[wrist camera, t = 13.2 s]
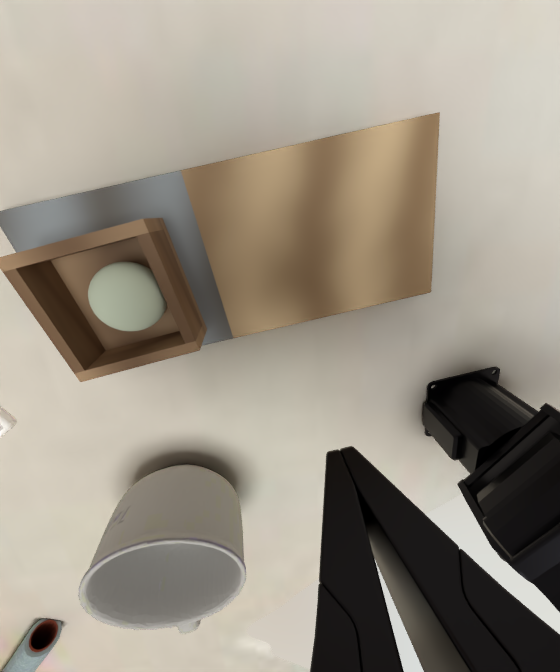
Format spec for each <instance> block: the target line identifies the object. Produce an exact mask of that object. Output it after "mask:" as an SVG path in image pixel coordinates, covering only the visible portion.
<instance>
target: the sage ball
mask: <svg viewBox="0 0 560 672" xmlns="http://www.w3.org/2000/svg"><path fill="white" fill-rule="evenodd" d="M88 299H89V303H90V306H91V308H92V310H93V312H94V313H95V315H96V316H97V317H98V318H99V319H100V320H101V321H102V322H104V323H105V324H107V325H108V326H110V327H112V328H115V329H118V330H122V331H139V330H143V329H146V328H148V327H150V326H152V325H154V324H155V323H156V322H157V321H158V320H159V319H160V318H161V317H162V315H163V314H164V312H165V310H166V307H167V302H166V300H165V298H164V296H163V294H162V291H161V289H160V287H159V285H158V283H157V280H156V278H155V276H154V274H153V271H152V270H151V269H149V268H147V267H146V266H143V265H141V264H138V263H133V262H116V263H112V264H109V265H107V266H105V267H103V268H102V269H100V270H99V271H98V272H97V273H96V274H95V275H94V277H93V278H92V280H91V282H90V285H89V289H88Z"/></svg>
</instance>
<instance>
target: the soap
mask: <svg viewBox="0 0 560 672" xmlns="http://www.w3.org/2000/svg"><path fill="white" fill-rule="evenodd" d="M15 424H16V419H15V418H14V417H13V416H12V415H10V414H9V413H8V412H7V411H6V410H4V409H3V408H2V407H0V438H1V437H2V436H3V435H4V434H6V433H7V432H8V431H9V430H10V429H11V428H12V427H13V426H14V425H15Z"/></svg>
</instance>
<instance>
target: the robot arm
mask: <svg viewBox="0 0 560 672" xmlns="http://www.w3.org/2000/svg"><path fill="white" fill-rule="evenodd" d="M494 370H496V371H495V373H493V374H492V372H493V371H494ZM499 374H500V369H499V368H498V367H491V368H487V369H483V370H478V371H474V372H470V373H466V374H461V375H457V376H453V377H449V378H445V379H440V380H436V381H432V382H430V383H429V384H428V385H427V396H426V402H425V403H424V409H423V425H424V427H425V434H426V435H427V436H433V437H434V439H435V440H436V441H437V442H438V444H439V445H440V446H441V447H442V448H443V450H444V451H445V452H446V453H447V454H448V456H449V457H450V458H451V459H453V460H459V461H460V462H461V463H462V465H463V466H464V467H465V468H466V469H467V470H468V472H469V473H470V475H469V476H468V477H467V478H465V479H464V480H463V479H462V480H461V481H460V482H459V483H458V486H459V488H460V490H461V492H462V494H463V496H464V498H465V500H466V502H467V504H468V505H469V507H470V509H471V511H472V512H473V514H474V516H475V518H476V520H477V521H478V523H479V525H480V527H481V529H482V530H483V532H484V534H485V536H486V538H487V539H488V541H489V543H490V545H491V546H492V548H493V549H494V550H495V551H496V552H497V554H498V555H499V556H500V558H501V559H503V560H504V561H506V562H507V563H508V564H509V565H510V566H511V567H512V568H513V569H514V570H515V571H517V572H518V573H519V574H520V575H521V576H523V577H524V578H525V579H526V580H528V581H529V582H531V583H533V584H534V585H535V586H536V587H537V588H538V589H539V590H540V591H541V592H542V593H543V594H544V595H545V596H546V597H547V598H548V599H549V600H550V602H551V603H552V604H553V605H554V606H555V607H556V609H557V610H558V611H559V612H560V411H559V410H558V409H556V408H554V407H552V406H551V405H549V404H547V403H545V404H544V405H543V406H542V407H541V408H540V409H541V410H540V411H539V412H538V411H537V410H535V409H534V408H532V407H531V406H529V405H528V404H526V403H525V402H523V401H522V400H521V399H519V398H518V397H516V396H515V395H513V394H512V393H510V392H509V391H507V390H506V389H504V388H503V387H502V386H500V385H499V384H498V379H499ZM432 385H435V387H434V388H431V386H432ZM428 432H429V433H428ZM374 558H375V559H374ZM375 560H376V562H377V565H378V567H379V569H380V572H381V574H382V576H383V579H384V580H385V583H386V585H387V587H388V590H389V592H390V594H391V597H392V599H393V601H394V604H395V606H396V608H397V611H398V613H399V615H400V617H401V620H402V622H403V624H404V627H405V629H406V631H407V634H408V636H409V638H410V640H411V643H412V645H413V647H414V649H415V652H416V654H417V657H418V658H419V661H420V663H421V666H422V668H423V670H424V672H560V634H558V633H557V632H556V631H555V630H554V629H552V628H551V627H550V626H549V625H547V624H546V623H545V622H544V621H542V620H541V619H540V618H539V617H538V616H536V615H535V614H534V613H533V612H532V611H530V610H529V609H528V608H527V607H526V606H525V605H523V604H522V603H521V602H520V601H519V600H517V599H516V598H515V597H514V596H513V595H512V594H510V593H509V592H508V591H507V590H506V589H504V588H503V587H502V586H501V585H500V584H499V583H498V582H497V581H496V580H495V579H493V578H492V577H491V576H490V575H489V574H488V573H487V572H486V571H485V570H484V569H482V568H481V567H480V566H479V565H478V564H477V563H476V562H475V561H474V560H473V559H472V558H470V556H469V555H467V554H466V553H465V552H464V551H463V550H462V549H459V547H458V545H457V544H456V543H455V542H454V541H452V540H451V539H450V538H449V537H448V536H447V535H446V534H445V533H444V532H443V531H442V530H441V529H440V528H439V527H438V526H437V525H435V523H433V522H432V521H431V520H430V519H429V518H428V517H427V516H426V515H425V514H424V513H423V512H422V511H421V510H420V509H419V508H418V507H417V506H415V505H414V504H413V503H412V502H411V501H410V500H409V499H408V498H407V497H406V496H405V495H404V494H403V493H402V492H401V491H400V490H399V489H398V488H396V487H395V486H394V485H393V484H392V483H391V482H390V481H389V480H388V479H387V478H386V477H385V476H384V475H383V474H382V473H381V472H380V471H379V470H377V469H376V468H375V467H374V466H373V465H372V464H371V463H370V462H369V461H368V460H367V459H366V458H365V457H364V456H363V455H362V454H361V453H359V452H358V451H357V450H356V449H355V448H354V447H352V446H349V447H345V448H341V449H340V450H333V451H329V452H327V454H326V470H325V487H324V505H323V522H322V539H321V556H320V573H319V582H320V584H319V587H318V605H317V617H316V628H315V639H314V646H313V654H312V661H311V669H310V672H404V671H403V668H402V664H401V660H400V656H399V652H398V648H397V645H396V640H395V637H394V633H393V629H392V625H391V621H390V617H389V613H388V610H387V606H386V602H385V598H384V594H383V590H382V587H381V583H380V579H379V575H378V571H377V567H376V563H375Z"/></svg>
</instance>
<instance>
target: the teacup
mask: <svg viewBox="0 0 560 672" xmlns="http://www.w3.org/2000/svg"><path fill="white" fill-rule="evenodd" d="M245 581H246V567H245V563H244V551H243V530H242V518H241V509H240V503H239V500H238V497H237V494H236V492H235V490H234V488H233V487H232V485H231V484H230V483H229V482H228V481H227V480H226V479H225V478H224V477H222V476H221V475H219V474H218V473H216V472H214V471H211V470H209V469H207V468H204V467H201V466H197V465H176V466H172V467H168V468H165V469H161V470H158V471H155V472H153V473H151V474H149V475H147V476H145V477H143V478H142V479H141V480H139V481H138V482H136V483H135V484H134V485H133V486H132V487H131V488H130V489H129V490H128V491H127V492H126V493H125V495H124V496H123V497H122V499H121V500H120V502H119V504H118V505H117V507H116V509H115V511H114V513H113V515H112V517H111V519H110V521H109V523H108V525H107V527H106V530H105V532H104V534H103V536H102V539H101V541H100V544H99V546H98V548H97V551H96V553H95V556H94V558H93V560H92V563H91V565H90V568H89V569H88V571H87V572H86V574H85V575H84V577H83V579H82V581H81V584H80V587H79V595H78V596H79V601H80V603H81V606H82V607H83V608H84V609H85V611H86V612H87V613H88V614H90V615H91V616H92V617H94V618H95V619H97V620H99V621H101V622H102V623H105V624H108V625H111V626H116V627H120V628H124V629H134V630H153V629H162V628H172V627H175V626H177V627H178V630H179V632H180V633H182V634H187V633H191V632H193V631H195V630H196V629H197V628H198V626H199V624H200V621H201V619H203V618H205V617H209V616H210V615H212V614H214V613H216V612H218V611H220V610H222V609H223V608H224V607H226V606H227V605H228V604H229V603H230V602H232V601H233V600H234V599H235V598H236V597H237V596H238V594H239V593H240V591H241V590H242V588H243V586H244V583H245Z"/></svg>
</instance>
